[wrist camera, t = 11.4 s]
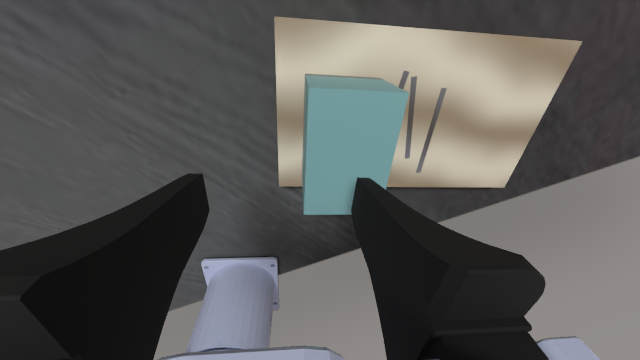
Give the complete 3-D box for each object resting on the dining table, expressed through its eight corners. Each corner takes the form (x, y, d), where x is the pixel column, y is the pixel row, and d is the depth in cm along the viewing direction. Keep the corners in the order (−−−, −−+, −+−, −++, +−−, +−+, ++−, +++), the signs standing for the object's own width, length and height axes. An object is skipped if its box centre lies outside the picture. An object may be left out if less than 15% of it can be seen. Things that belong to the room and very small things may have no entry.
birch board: (493, 179, 24) (504, 187, 23) (279, 177, 22) (278, 186, 21) (562, 40, 18) (582, 41, 17) (276, 17, 16) (274, 16, 14)
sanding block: (362, 177, 21) (379, 214, 17) (301, 176, 20) (303, 214, 16) (380, 77, 17) (409, 92, 13) (304, 73, 16) (308, 87, 12)
